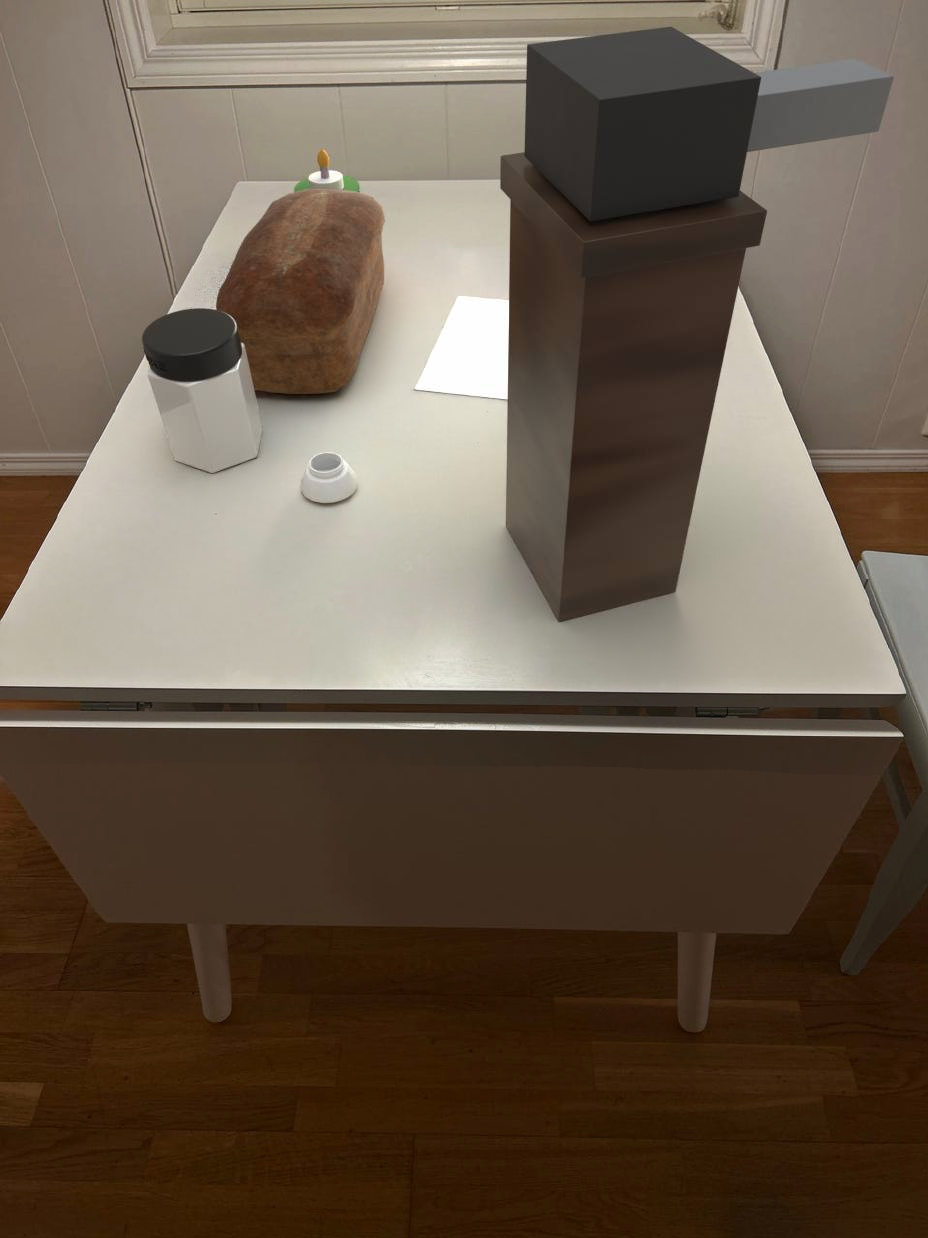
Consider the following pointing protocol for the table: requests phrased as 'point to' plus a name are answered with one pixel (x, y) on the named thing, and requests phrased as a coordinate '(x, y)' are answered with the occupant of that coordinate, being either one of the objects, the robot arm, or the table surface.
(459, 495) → the table surface
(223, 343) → the jar
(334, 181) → the candle
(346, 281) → the bread
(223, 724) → the table surface
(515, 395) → the stand
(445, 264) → the table surface
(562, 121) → the sledgehammer head
